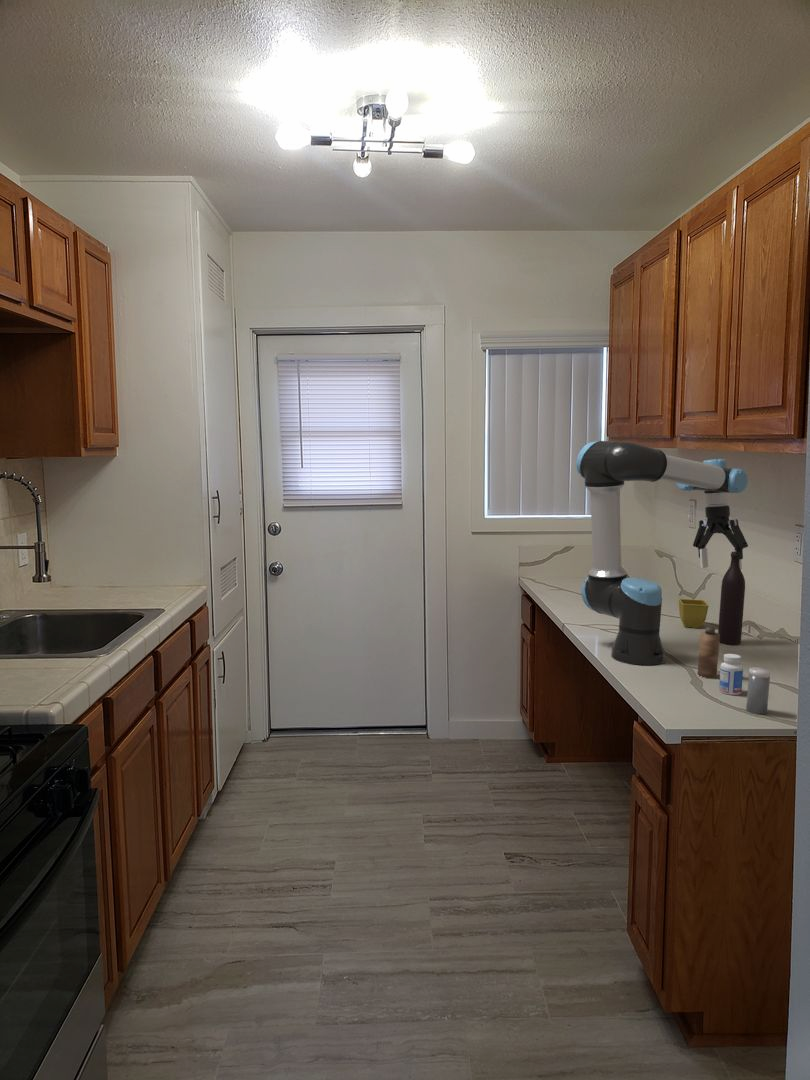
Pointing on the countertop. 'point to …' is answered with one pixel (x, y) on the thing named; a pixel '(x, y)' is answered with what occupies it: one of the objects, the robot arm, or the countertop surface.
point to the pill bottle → (731, 675)
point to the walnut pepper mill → (708, 653)
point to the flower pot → (693, 612)
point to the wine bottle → (732, 603)
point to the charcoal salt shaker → (758, 690)
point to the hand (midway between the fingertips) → (720, 568)
